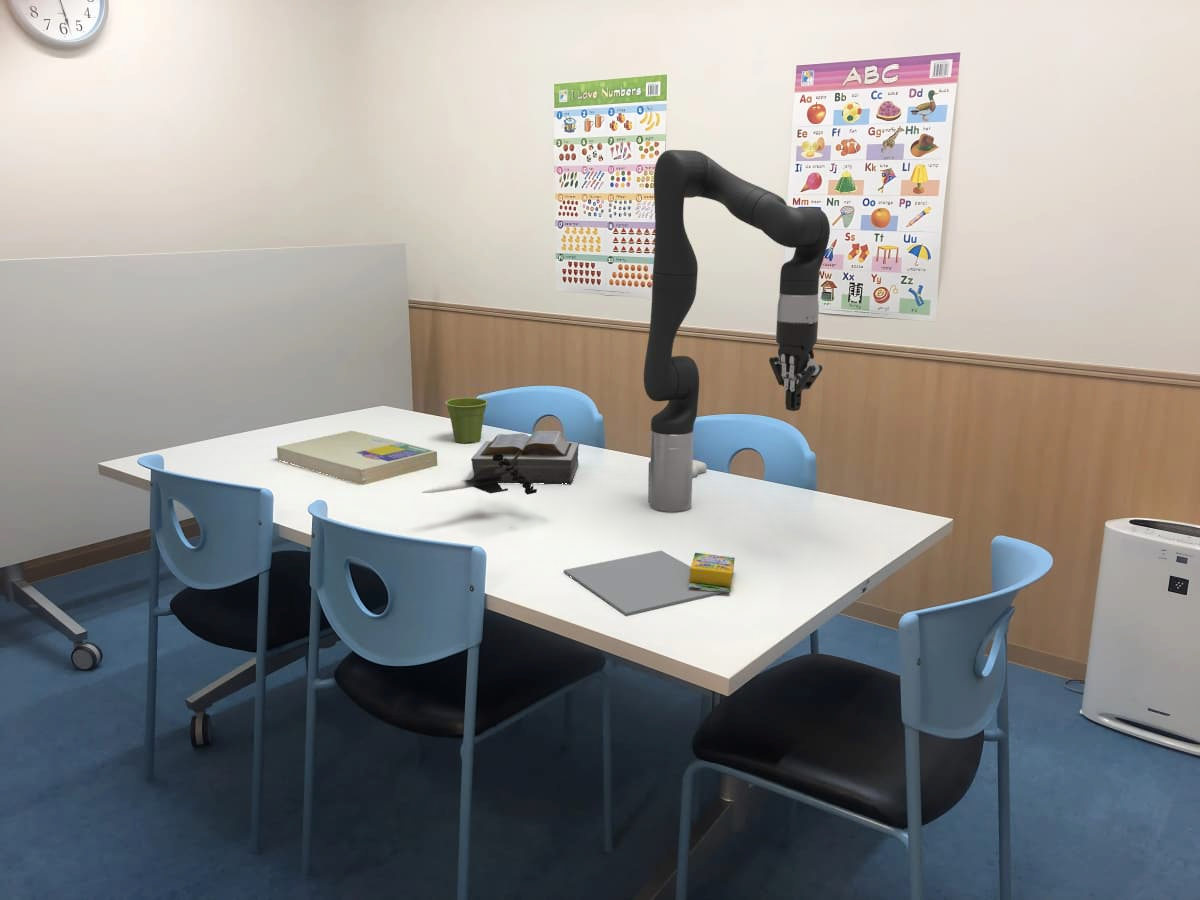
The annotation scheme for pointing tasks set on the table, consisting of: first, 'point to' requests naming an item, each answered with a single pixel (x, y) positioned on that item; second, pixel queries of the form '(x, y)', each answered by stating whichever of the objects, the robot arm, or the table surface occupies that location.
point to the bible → (531, 457)
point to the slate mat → (640, 582)
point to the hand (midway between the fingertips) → (792, 410)
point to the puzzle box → (358, 457)
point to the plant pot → (467, 418)
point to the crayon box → (711, 572)
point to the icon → (698, 468)
